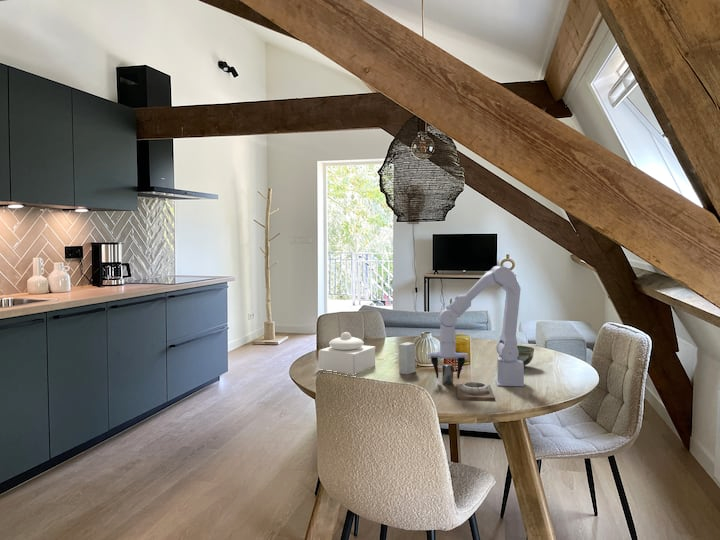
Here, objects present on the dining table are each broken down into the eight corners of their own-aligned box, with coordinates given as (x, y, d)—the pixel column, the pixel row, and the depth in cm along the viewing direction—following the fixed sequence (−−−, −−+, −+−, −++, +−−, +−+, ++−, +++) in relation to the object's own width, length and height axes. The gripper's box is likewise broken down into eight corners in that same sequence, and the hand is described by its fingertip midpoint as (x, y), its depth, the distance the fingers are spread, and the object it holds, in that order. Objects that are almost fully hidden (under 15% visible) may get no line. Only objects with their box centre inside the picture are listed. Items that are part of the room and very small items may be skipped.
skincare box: (407, 370, 223) (406, 341, 222) (415, 371, 220) (415, 343, 219) (398, 373, 218) (398, 344, 217) (407, 374, 215) (407, 345, 215)
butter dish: (341, 362, 240) (340, 327, 239) (376, 366, 231) (375, 330, 230) (318, 370, 225) (317, 333, 224) (355, 375, 216) (354, 336, 215)
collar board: (489, 387, 195) (489, 379, 195) (494, 400, 179) (494, 391, 179) (456, 386, 197) (456, 378, 196) (458, 399, 181) (458, 390, 181)
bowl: (536, 371, 219) (536, 351, 218) (502, 370, 221) (502, 350, 221) (532, 363, 232) (532, 345, 231) (500, 362, 235) (500, 344, 234)
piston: (453, 382, 203) (452, 364, 202) (453, 385, 199) (453, 366, 198) (442, 382, 203) (442, 364, 203) (442, 385, 199) (442, 366, 199)
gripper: (466, 340, 203) (466, 375, 204) (428, 339, 205) (428, 374, 206) (467, 343, 196) (468, 380, 197) (428, 343, 198) (428, 379, 199)
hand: (447, 377), depth 201 cm, fingers open, 7 cm apart
